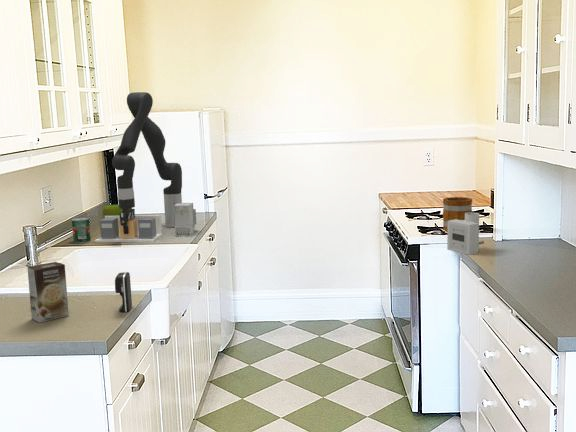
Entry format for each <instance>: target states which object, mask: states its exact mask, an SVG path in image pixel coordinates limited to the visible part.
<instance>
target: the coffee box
mask: <svg viewBox="0 0 576 432" xmlns="http://www.w3.org/2000/svg"><path fill="white" fill-rule="evenodd" d="M26 269H27V279H28V288H29V289H28V291H29V300H30V301H29V303H30V314H31V319H32V320H34V321H36V322H38V323H45V322H49V321H53V320H57V319H61V318H64V317H69V316H70V315H69V314H70V313H69V303H68V302H69V301H68V289H67V278H66V277H67V276H66V265H65V264H63V263H61V262H58V261H54V262H47V263H42V264H36V265H30V266H27V267H26Z"/></svg>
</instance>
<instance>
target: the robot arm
mask: <svg viewBox="0 0 576 432" xmlns="http://www.w3.org/2000/svg"><path fill="white" fill-rule="evenodd" d="M153 102H154V100H153V97H152V95H151V94H150V93H149V92H142V91H141V92H130V93H128V94H127V97H126V104H127V107H128V110H129V111H130V113H131V115H132V117H133V118H134V119H133V120H132V121H131V123H130V124H129V125H128V126H127V128H126V129H125V130H124V132H123V136H122V139H121V142H120V145H119V147H118V148H117V150H116V151H115V154H114V155H113V157H112V159H111V162H112V163H111V164H112V167H113V169H115V170H116V171H123V172H122V175H119V176H117V179H116V183H117V205H119V208H122V213H120V214H119V215H120V223H121V226H123V232H124V234H128V233H129V231H128V222H129V221H130V219H135V216H136V215H135V214H136V212H135V211H136V210H135V207H136V201H135V200H136V199H135V190H134V181H133V179H134V178H133V177H134V173H135V169H136V168H135V167H136V162H135V159H134V156H131V155H130V154H131V153H135V150H136V148H137V145H138V142H139V138H140V135H141V134H142V137H143V138H144V140H145V143H146V145H147V147H148V149H149V151H150V153H151V157H152V158H153V161H154V164H155V167H156V170H157V173H158V175H159V177H160V179H161V180H164V181H170V184H169V185H168V186H166V187H164V188H163V193H162V194H163V203H164V204H163V205H164V221H165V222H164V223H165V227H166V228H175V214H174V205H176V204H177V203H183V199H182V198H183V196H182V188H183V169H182V165H181V164H180V163H178V162H168V161H166V158H165V156H164V152H165V149H166V138H165V136H164V134H163V132H162V129H161V128H160V127H159V126H158V124H156V122H154V120H152V119H151V118H150V117H149V114H150V112H151V110H152V108H153V104H154V103H153ZM122 221H123V222H122ZM124 222H125V223H124Z"/></svg>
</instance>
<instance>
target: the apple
mask: <svg viewBox="0 0 576 432" xmlns="http://www.w3.org/2000/svg"><path fill="white" fill-rule="evenodd" d="M120 213H122V208H119V205H118V204H113V203H112V204H109V205H105V206H104V207H103V209H102V217H103V218H102V219H104V218H105V216H120V215H119V214H120Z"/></svg>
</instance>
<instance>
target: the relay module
mask: <svg viewBox="0 0 576 432" xmlns="http://www.w3.org/2000/svg"><path fill="white" fill-rule="evenodd" d="M122 222H123V221H122ZM124 223H125V222H124ZM119 230H120V238H135V237H136V236H138V229H137V219H130V221H129V222H128V231H129V233H128V234H124V232H123V226H121V223H120V221H119Z"/></svg>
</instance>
